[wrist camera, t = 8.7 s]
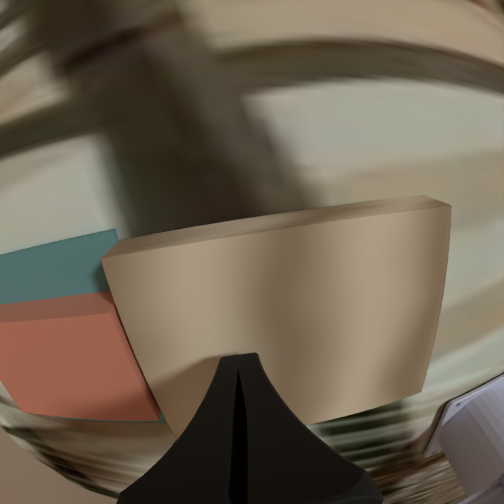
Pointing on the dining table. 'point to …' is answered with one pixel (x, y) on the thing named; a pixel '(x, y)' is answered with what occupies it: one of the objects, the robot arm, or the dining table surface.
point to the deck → (289, 304)
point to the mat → (58, 273)
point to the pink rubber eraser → (73, 360)
